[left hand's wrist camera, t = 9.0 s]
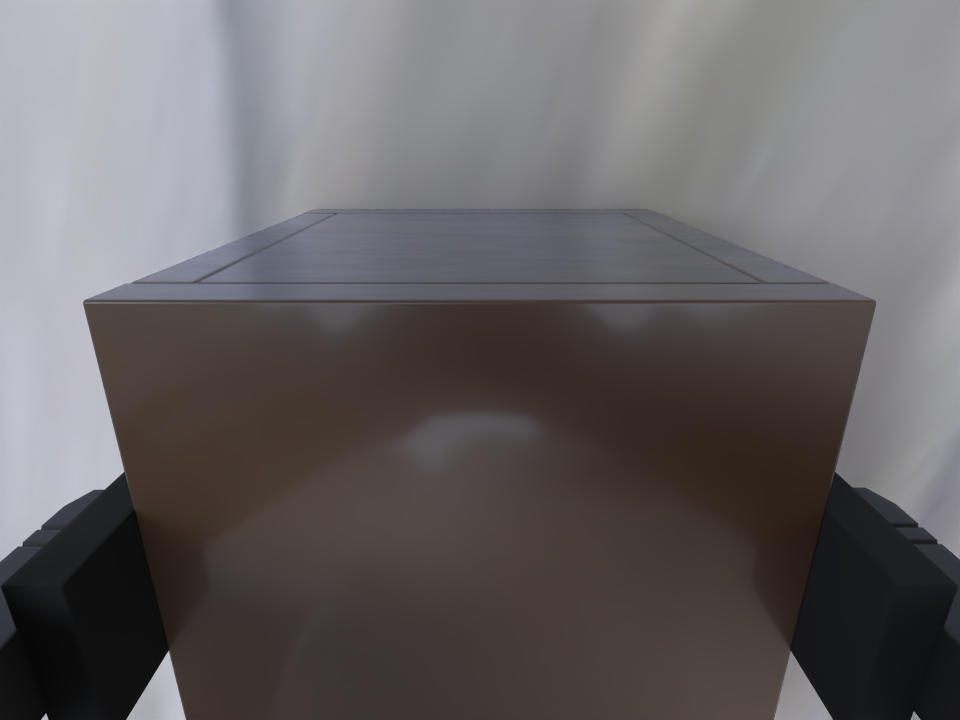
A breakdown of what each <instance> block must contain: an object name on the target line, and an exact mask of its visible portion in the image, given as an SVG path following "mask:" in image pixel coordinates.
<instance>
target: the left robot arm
mask: <svg viewBox="0 0 960 720" xmlns="http://www.w3.org/2000/svg"><path fill="white" fill-rule="evenodd" d="M168 651H169V649H168V645H167V641H166V637H165V633H164V629H163V625H162V620H161V616H160V612H159V608H158V604H157V600H156V596H155V592H154V588H153V584H152V580H151V576H150V572H149V568H148V564H147V560H146V556H145V552H144V548H143V544H142V539H141V535H140V531H139V527H138V523H137V519H136V515H135V511H134V507H133V503H132V499H131V495H130V491H129V487H128V483H127V479H126V475H125V472H124V473H123V474H121V475H120V476H119V477H118V478H117V479H116V480H115V481H114V482H113V483H112V484H111V485H110V486H108V487H107V488H106V489H105V490H93V491H91V492H90V493H88V494H86V495H84V496H82V497H80V498H79V499H77V500H75V501H73V502H71V503H69V504H68V505H66V506H64V507H63V508H62V509H61V510H59V511H58V512H57V513H56V514H55V515H54V516H53V517H51V518H50V519H49V520H48V521H47V522H46V523H45V524H43V525H42V528H41V530H37V531H35V532H34V533H33V534H32V535H31V536H30V537H28V538H27V539H26V540H25V541H24V542H23V546H22V547H17V548H16V549H15V550H14V551H12V552H11V553H10V554H9V555H8V556H7V557H6V558H4V559H3V560H2V561H1V562H0V720H41V719H42V718H43V716H44V715H45V714H47V717H48V719H49V720H126V719H127V717H128V716H129V714H130V712H131V711H132V709H133V708H134V706H135V704H136V703H137V701H138V699H139V698H140V696H141V695H142V693H143V691H144V690H145V688H146V686H147V685H148V683H149V682H150V680H151V678H152V677H153V675H154V673H155V672H156V670H157V668H158V667H159V665H160V664H161V662H162V660H163V659H164V657H165V655H166V654H167V652H168ZM791 652H792V653H793V655H794V656H795V658H796V660H797V661H798V663H799V665H800V666H801V668H802V669H803V671H804V673H805V674H806V676H807V678H808V679H809V681H810V683H811V684H812V686H813V687H814V689H815V691H816V692H817V694H818V696H819V697H820V699H821V700H822V702H823V704H824V705H825V707H826V709H827V710H828V712H829V713H830V715H831V717H832V718H833V720H911V717H912V714H913V711H915V713H916V714H917V715H918V717H919V718H920V719H921V720H960V560H959V559H958V558H957V557H956V556H955V555H954V554H953V553H951V552H950V551H949V550H948V549H947V548H946V547H944V546H943V545H942V544H937V540H936V539H935V538H934V537H933V536H932V535H931V534H929V533H928V532H927V531H926V530H925V529H924V528H919V527H918V523H917V522H916V521H914V520H913V519H912V518H911V517H910V516H909V515H908V514H906V513H905V512H904V511H903V510H902V509H901V508H899V507H898V506H897V505H896V504H894V503H892V502H891V501H889V500H887V499H885V498H883V497H881V496H880V495H878V494H876V493H874V492H872V491H870V490H869V489H867V488H852V487H851V486H850V485H849V484H848V483H847V482H845V481H844V480H843V479H842V478H841V477H840V476H839V475H838V474H837V473H836V472H835V473H834V477H833V481H832V485H831V489H830V493H829V497H828V501H827V505H826V509H825V513H824V517H823V521H822V526H821V530H820V534H819V538H818V542H817V546H816V550H815V554H814V558H813V562H812V566H811V570H810V574H809V578H808V582H807V586H806V591H805V595H804V599H803V603H802V607H801V611H800V615H799V619H798V623H797V627H796V631H795V635H794V639H793V643H792V647H791Z"/></svg>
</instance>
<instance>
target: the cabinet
mask: <svg viewBox="0 0 960 720" xmlns="http://www.w3.org/2000/svg"><path fill="white" fill-rule="evenodd" d="M83 305H84V309H85V313H86V317H87V321H88V325H89V329H90V333H91V337H92V341H93V345H94V349H95V353H96V357H97V361H98V366H99V370H100V374H101V378H102V382H103V386H104V390H105V394H106V398H107V402H108V406H109V410H110V414H111V418H112V422H113V426H114V430H115V434H116V438H117V442H118V446H119V451H120V455H121V459H122V463H123V467H124V471H125V475H126V479H127V483H128V487H129V491H130V495H131V499H132V503H133V507H134V511H135V515H136V519H137V523H138V527H139V531H140V535H141V539H142V544H143V548H144V552H145V556H146V560H147V564H148V568H149V572H150V576H151V580H152V584H153V588H154V592H155V596H156V600H157V604H158V608H159V612H160V616H161V620H162V625H163V629H164V633H165V637H166V641H167V645H168V649H169V653H170V657H171V661H172V665H173V669H174V673H175V677H176V681H177V685H178V689H179V693H180V698H181V702H182V706H183V710H184V714H185V718H186V720H774V716H775V712H776V708H777V704H778V700H779V696H780V692H781V688H782V684H783V680H784V676H785V672H786V668H787V664H788V660H789V655H790V651H791V647H792V643H793V639H794V635H795V631H796V627H797V623H798V619H799V615H800V611H801V607H802V603H803V599H804V595H805V591H806V586H807V582H808V578H809V574H810V570H811V566H812V562H813V558H814V554H815V550H816V546H817V542H818V538H819V534H820V530H821V526H822V521H823V517H824V513H825V509H826V505H827V501H828V497H829V493H830V489H831V485H832V481H833V477H834V473H835V469H836V465H837V461H838V457H839V452H840V448H841V444H842V440H843V436H844V432H845V428H846V424H847V420H848V416H849V412H850V408H851V404H852V400H853V396H854V392H855V388H856V383H857V379H858V375H859V371H860V367H861V363H862V359H863V355H864V351H865V347H866V343H867V339H868V335H869V331H870V327H871V323H872V319H873V314H874V310H875V306H876V301H875V300H872V299H870V298H867V297H865V296H862V295H860V294H857V293H855V292H852V291H850V290H847V289H845V288H842V287H840V286H837V285H835V284H831V283H829V282H826V281H824V280H821V279H819V278H816V277H814V276H811V275H809V274H806V273H804V272H801V271H799V270H796V269H794V268H791V267H789V266H786V265H784V264H782V263H779V262H777V261H774V260H772V259H769V258H767V257H764V256H762V255H759V254H757V253H754V252H752V251H749V250H747V249H744V248H742V247H739V246H737V245H734V244H732V243H729V242H727V241H724V240H722V239H719V238H717V237H714V236H712V235H709V234H707V233H704V232H702V231H699V230H697V229H694V228H692V227H689V226H687V225H684V224H682V223H679V222H677V221H674V220H672V219H669V218H667V217H664V216H662V215H659V214H657V213H655V212H652V211H650V210H311V211H308V212H306V213H304V214H302V215H299V216H297V217H294V218H292V219H289V220H287V221H284V222H282V223H279V224H277V225H274V226H272V227H269V228H267V229H264V230H262V231H259V232H257V233H254V234H252V235H249V236H247V237H244V238H242V239H239V240H237V241H234V242H232V243H229V244H227V245H224V246H222V247H219V248H217V249H214V250H212V251H209V252H207V253H204V254H202V255H199V256H197V257H194V258H192V259H189V260H187V261H184V262H182V263H179V264H177V265H174V266H172V267H169V268H167V269H164V270H162V271H159V272H157V273H154V274H152V275H149V276H147V277H144V278H142V279H139V280H137V281H134V282H132V283H130V284H124V285H122V286H119V287H117V288H114V289H112V290H109V291H107V292H104V293H102V294H99V295H97V296H94V297H91V298H89V299H86V300H84V302H83Z"/></svg>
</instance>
